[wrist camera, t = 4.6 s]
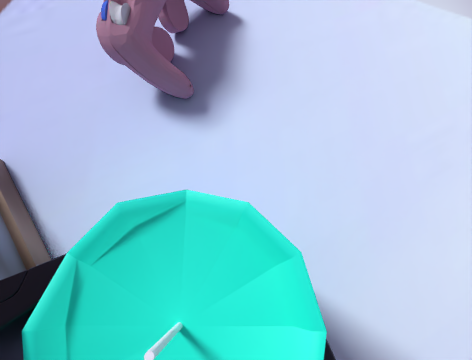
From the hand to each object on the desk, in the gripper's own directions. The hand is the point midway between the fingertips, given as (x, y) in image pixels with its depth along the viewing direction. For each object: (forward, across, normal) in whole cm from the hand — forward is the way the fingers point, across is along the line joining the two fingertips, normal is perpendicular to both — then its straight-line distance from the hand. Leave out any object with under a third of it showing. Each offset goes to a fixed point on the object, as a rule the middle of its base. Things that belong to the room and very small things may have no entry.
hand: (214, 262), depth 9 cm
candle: (+4, 0, +6) cm, 7 cm away
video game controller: (+15, +9, -5) cm, 18 cm away
